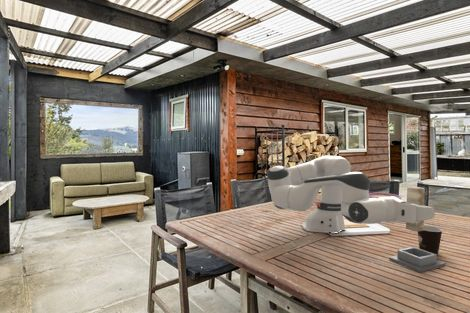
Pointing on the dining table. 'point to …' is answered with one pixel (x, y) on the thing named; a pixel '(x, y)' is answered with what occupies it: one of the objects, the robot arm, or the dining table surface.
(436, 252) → the coffee mug
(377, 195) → the bowl of food
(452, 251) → the dining table surface
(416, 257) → the grey stepped tray
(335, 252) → the dining table surface
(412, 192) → the beige wooden block
